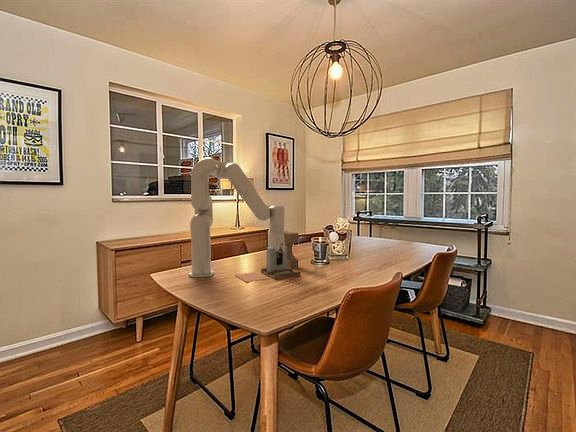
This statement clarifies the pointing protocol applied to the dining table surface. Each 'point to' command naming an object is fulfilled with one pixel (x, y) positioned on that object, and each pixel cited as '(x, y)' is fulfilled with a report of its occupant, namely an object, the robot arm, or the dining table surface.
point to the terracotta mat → (251, 277)
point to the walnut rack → (281, 276)
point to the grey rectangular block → (275, 260)
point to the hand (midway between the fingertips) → (276, 263)
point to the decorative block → (289, 241)
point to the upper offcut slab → (282, 273)
